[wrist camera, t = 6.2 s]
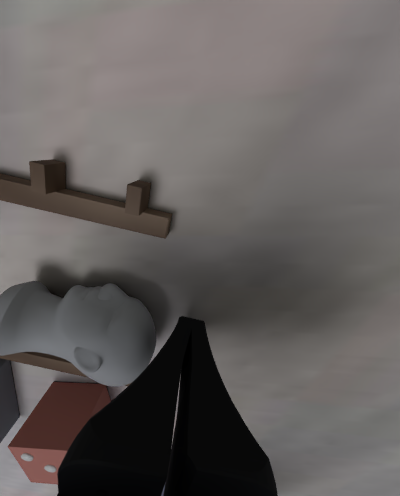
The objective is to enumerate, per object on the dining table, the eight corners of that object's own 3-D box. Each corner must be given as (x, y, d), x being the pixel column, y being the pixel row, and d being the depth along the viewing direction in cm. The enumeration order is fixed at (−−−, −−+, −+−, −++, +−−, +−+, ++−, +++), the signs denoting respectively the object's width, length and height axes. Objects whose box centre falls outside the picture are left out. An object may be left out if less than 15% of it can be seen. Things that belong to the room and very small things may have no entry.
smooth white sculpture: (175, 297, 15) (141, 364, 15) (52, 242, 14) (19, 316, 14) (174, 331, 10) (126, 423, 11) (-6, 255, 9) (-50, 361, 10)
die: (116, 418, 18) (89, 488, 14) (68, 416, 19) (30, 483, 15) (105, 384, 17) (73, 452, 13) (53, 381, 17) (6, 448, 13)
